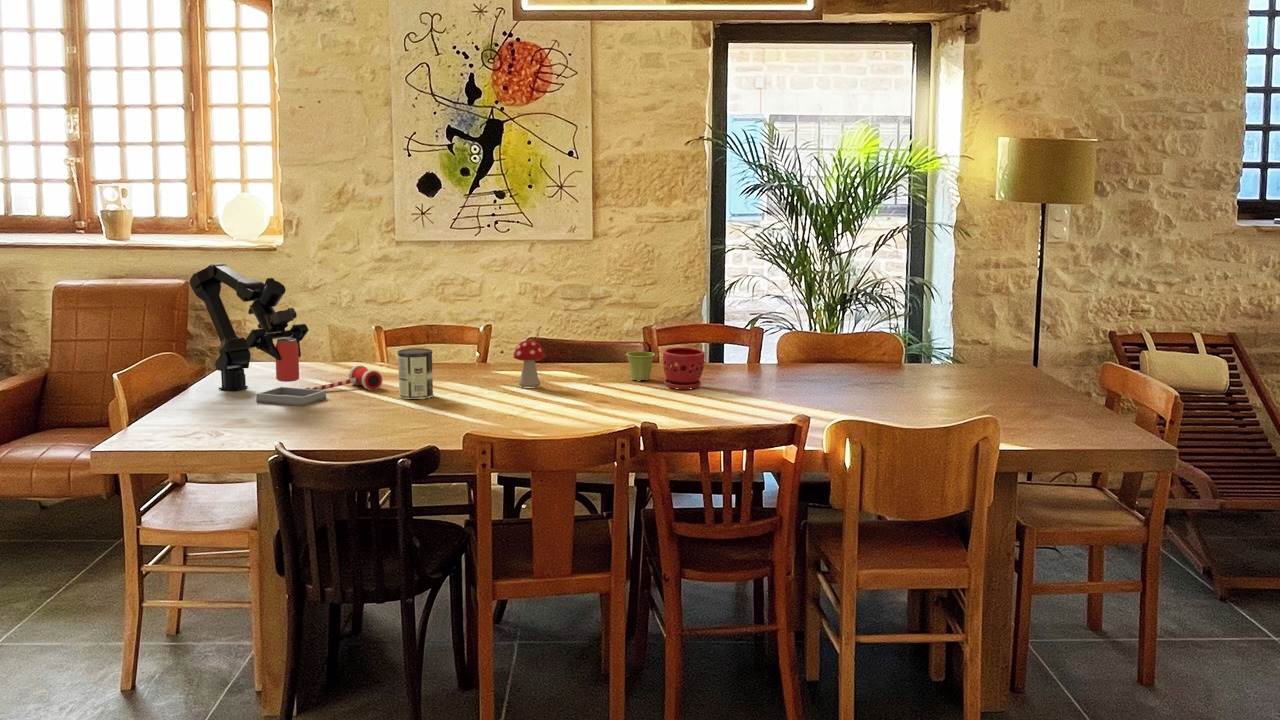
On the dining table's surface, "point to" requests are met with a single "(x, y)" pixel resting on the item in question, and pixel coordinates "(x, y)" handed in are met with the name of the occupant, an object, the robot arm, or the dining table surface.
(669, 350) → the plant pot
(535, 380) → the decorative mushroom
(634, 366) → the plant pot
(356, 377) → the toy hammer
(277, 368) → the beer can
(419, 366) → the coffee can
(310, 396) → the tray
